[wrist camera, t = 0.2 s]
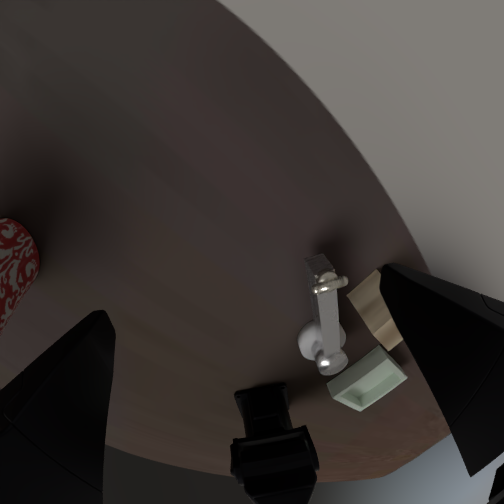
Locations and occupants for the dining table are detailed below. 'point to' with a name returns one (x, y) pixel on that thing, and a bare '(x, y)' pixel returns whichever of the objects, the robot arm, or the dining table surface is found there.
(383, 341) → the stop block
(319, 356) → the crank
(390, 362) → the stop tray
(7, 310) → the mug
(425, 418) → the dining table surface
